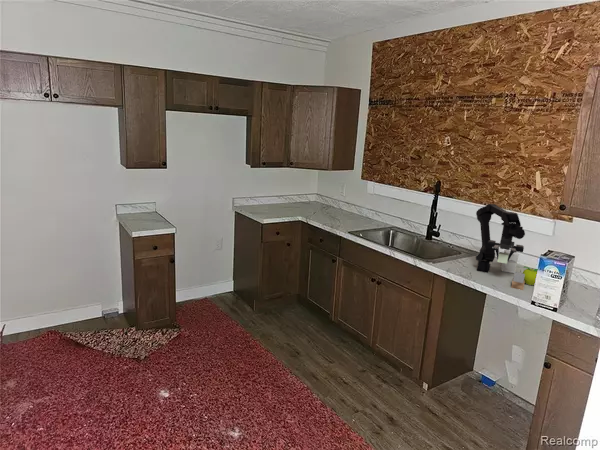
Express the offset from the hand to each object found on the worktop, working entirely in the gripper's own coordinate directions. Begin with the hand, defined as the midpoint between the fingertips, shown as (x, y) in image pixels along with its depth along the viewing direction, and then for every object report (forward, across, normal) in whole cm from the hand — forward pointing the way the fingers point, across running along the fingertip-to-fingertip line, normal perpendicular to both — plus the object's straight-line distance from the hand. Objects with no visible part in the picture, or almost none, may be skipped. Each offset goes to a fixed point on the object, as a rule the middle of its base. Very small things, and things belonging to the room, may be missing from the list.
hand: (502, 260), depth 237 cm
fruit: (+13, +16, +4) cm, 21 cm away
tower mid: (+9, +10, -6) cm, 14 cm away
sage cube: (+1, 0, 0) cm, 1 cm away
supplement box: (+13, +4, +23) cm, 27 cm away
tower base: (+13, +10, -6) cm, 17 cm away
